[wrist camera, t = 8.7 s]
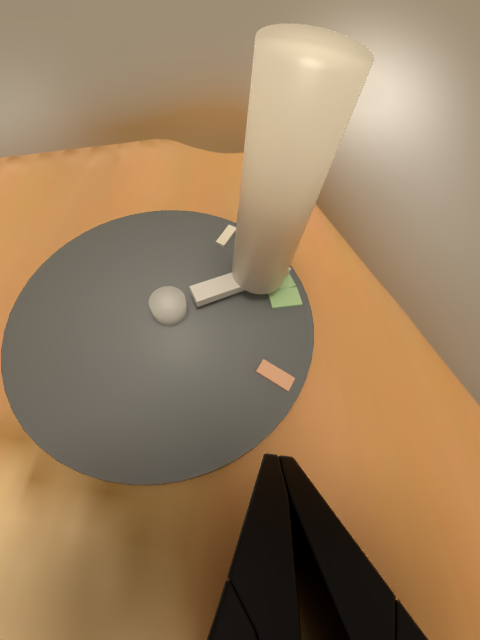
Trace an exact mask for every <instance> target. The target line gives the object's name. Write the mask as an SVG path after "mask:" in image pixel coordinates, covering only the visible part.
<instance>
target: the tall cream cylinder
mask: <svg viewBox="0 0 480 640" xmlns="http://www.w3.org/2000/svg"><path fill="white" fill-rule="evenodd" d="M373 61H374V57H373V54H372V53H371V51H370V50H369V49H368V48H367V47H366V46H365V45H363V44H362V43H360V42H359V41H357V40H355V39H353V38H351V37H349V36H347V35H344V34H342V33H339V32H335V31H333V30H329V29H326V28H321V27H317V26H311V25H304V24H291V23H290V24H289V23H288V24H287V23H286V24H275V25H269V26H266V27H263V28H261V29H260V30H259V31H258V32H257V33H256V37H255V47H254V57H253V67H252V77H251V87H250V96H249V106H248V116H247V127H246V136H245V146H244V156H243V166H242V176H241V186H240V196H239V206H238V215H237V225H236V235H235V245H234V255H233V265H232V273H229V274H226V275H223V276H219V277H216V278H213V279H210V280H207V281H204V282H201V283H198V284H195V285H192V286H189V287H190V292H191V295H192V297H193V299H194V301H195V303H196V305H197V307H199V306H202V305H205V304H208V303H210V302H213V301H216V300H219V299H222V298H225V297H227V296H230V295H233V294H236V293H239V292H242V291H244V290H246V291H248V292H250V293H254V294H268V293H272V292H274V291H276V290H277V289H278V288H280V286H281V285H282V284H283V282H284V279H285V277H286V276H287V275H289V273H290V271H291V268H290V264H291V262H292V260H293V257H294V255H295V252H296V250H297V247H298V245H299V242H300V240H301V237H302V235H303V233H304V230H305V228H306V225H307V223H308V220H309V218H310V215H311V213H312V211H313V208H314V206H315V203H316V201H317V198H318V196H319V193H320V191H321V188H322V186H323V184H324V181H325V179H326V176H327V174H328V171H329V169H330V166H331V164H332V162H333V159H334V157H335V154H336V152H337V149H338V147H339V145H340V142H341V140H342V137H343V135H344V132H345V130H346V127H347V125H348V122H349V120H350V118H351V115H352V112H353V110H354V108H355V105H356V103H357V100H358V98H359V96H360V93H361V91H362V88H363V86H364V83H365V81H366V78H367V76H368V74H369V71H370V68H371V66H372V64H373Z"/></svg>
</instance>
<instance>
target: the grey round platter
mask: <svg viewBox="0 0 480 640" xmlns="http://www.w3.org/2000/svg"><path fill="white" fill-rule="evenodd" d="M236 225H237V223H234V222H232V221H229V220H226V219H224V218H220V217H216V216H213V215H209V214H204V213H198V212H191V211H178V210H177V211H153V212H145V213H139V214H134V215H129V216H126V217H122V218H119V219H115V220H112V221H110V222H107V223H104V224H102V225H99V226H97V227H95V228H93V229H91V230H89V231H87V232H85V233H83V234H81V235H80V236H78V237H76V238H75V239H73V240H71V241H70V242H68V243H67V244H66V245H64V246H63V247H62V248H60V249H59V250H58V251H56V252H55V253H54V254H53V255H52V256H51V257H50V258H49V259H47V260H46V261H45V262H44V263H43V264H42V265H41V266H40V267H39V269H38V270H37V271H36V272H35V273H34V274H33V276H32V277H31V278H30V279H29V281H28V282H27V284H26V285H25V287H24V288H23V290H22V291H21V293H20V294H19V296H18V298H17V300H16V302H15V304H14V306H13V308H12V310H11V312H10V315H9V318H8V321H7V324H6V328H5V331H4V337H3V343H2V349H1V372H2V378H3V383H4V389H5V393H6V395H7V398H8V401H9V403H10V406H11V409H12V411H13V413H14V414H15V416H16V418H17V419H18V421H19V423H20V424H21V426H22V428H23V429H24V431H25V432H26V433H27V434H28V435H29V436H30V437H31V438H32V440H33V441H34V442H35V443H36V444H37V445H38V446H39V447H40V448H41V449H43V450H44V451H45V452H46V453H48V454H49V455H50V456H52V457H53V458H54V459H55V460H57V461H58V462H60V463H62V464H64V465H66V466H68V467H70V468H72V469H73V470H75V471H77V472H79V473H82V474H85V475H88V476H91V477H94V478H97V479H101V480H104V481H109V482H116V483H123V484H129V485H158V484H164V483H171V482H177V481H184V480H187V479H190V478H194V477H197V476H200V475H203V474H207V473H210V472H212V471H214V470H216V469H218V468H220V467H222V466H225V465H227V464H229V463H231V462H233V461H235V460H236V459H238V458H239V457H241V456H242V455H244V454H245V453H247V452H248V451H250V450H251V449H253V448H254V447H255V446H256V445H258V444H259V443H260V442H261V441H262V440H263V439H264V438H266V437H267V436H268V435H269V434H270V433H271V432H272V431H273V430H274V429H275V428H276V427H277V425H278V424H279V423H280V422H281V421H282V420H283V418H284V417H285V416H286V415H287V413H288V412H289V410H290V409H291V407H292V405H293V404H294V402H295V401H296V399H297V398H298V396H299V393H300V391H301V389H302V387H303V385H304V382H305V380H306V377H307V374H308V370H309V367H310V364H311V359H312V352H313V345H314V325H313V318H312V311H311V307H310V304H309V300H308V297H307V294H306V292H305V290H304V287H303V285H302V283H301V281H300V279H299V277H298V276H297V274H296V273H295V271H294V269H293V268H292V267H291V265H290V268H291V271H290V273H289V275H287V276H286V277H285V279H284V282H283V284H282V285H281V286H280V288H278V289H277V290H276V291H274V292H272V293H268V294H254V293H250V292H248V291H246V290H244V291H242V292H239V293H236V294H233V295H230V296H227V297H225V298H222V299H219V300H216V301H213V302H210V303H208V304H205V305H202V306H199V307H197V305H196V303H195V301H194V299H193V297H192V295H191V292H190V287H189V286H192V285H195V284H198V283H201V282H204V281H207V280H210V279H213V278H216V277H219V276H223V275H226V274H229V273H232V265H233V255H234V245H235V235H236Z"/></svg>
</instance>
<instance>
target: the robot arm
mask: <svg viewBox="0 0 480 640" xmlns="http://www.w3.org/2000/svg"><path fill="white" fill-rule="evenodd" d="M207 640H428V639H427V637H426V636H425V635H424V633H423V632H422V631H421V629H420V628H419V627H418V625H417V624H416V623H415V621H414V620H413V619H412V617H411V616H410V615H409V613H408V612H407V611H406V609H405V608H404V607H403V605H402V604H401V602H400V601H399V600H396V597H395V595H394V593H393V592H392V591H391V589H390V588H389V586H388V585H387V584H386V582H385V581H384V580H383V578H382V577H381V576H380V574H379V573H378V572H377V570H376V569H375V568H374V566H373V565H372V563H371V562H370V561H369V559H368V558H367V557H366V555H365V554H364V553H363V551H362V550H361V549H360V547H359V546H358V544H357V543H356V542H355V540H354V539H353V538H352V536H351V535H350V534H349V532H348V531H347V530H346V528H345V527H344V526H343V524H342V523H341V521H340V520H339V519H338V517H337V516H336V515H335V513H334V512H333V511H332V509H331V508H330V507H329V505H328V504H327V502H326V501H325V500H324V498H323V497H322V496H321V494H320V493H319V492H318V490H317V489H316V488H315V486H314V485H313V484H312V482H311V481H310V479H309V478H308V477H307V475H306V474H305V473H304V471H303V470H302V469H301V467H300V466H299V465H298V463H297V462H296V461H295V459H294V458H293V457H289V456H279V457H278V456H277V455H273V454H264V456H263V460H262V463H261V466H260V470H259V473H258V476H257V480H256V483H255V486H254V490H253V493H252V496H251V499H250V503H249V506H248V509H247V513H246V516H245V519H244V523H243V526H242V529H241V533H240V536H239V539H238V543H237V546H236V549H235V553H234V556H233V559H232V562H231V566H230V569H229V572H228V576H227V580H226V582H225V585H224V588H223V592H222V595H221V598H220V602H219V605H218V608H217V611H216V614H215V617H214V620H213V623H212V626H211V629H210V632H209V635H208V638H207Z"/></svg>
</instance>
